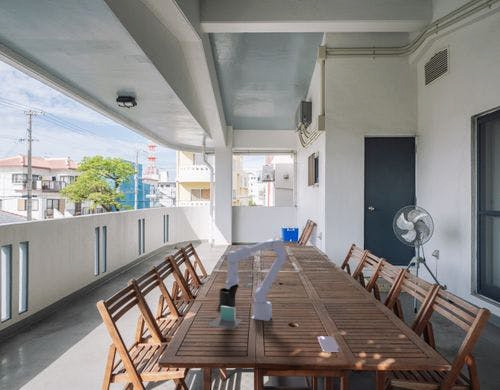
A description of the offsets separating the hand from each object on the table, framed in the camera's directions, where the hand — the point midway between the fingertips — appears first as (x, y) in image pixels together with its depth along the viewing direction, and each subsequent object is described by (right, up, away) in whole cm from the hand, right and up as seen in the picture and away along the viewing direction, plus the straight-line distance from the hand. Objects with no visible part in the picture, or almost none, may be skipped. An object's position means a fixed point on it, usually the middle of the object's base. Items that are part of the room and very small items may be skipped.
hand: (232, 298), depth 179 cm
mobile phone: (+45, -11, -31) cm, 56 cm away
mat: (-3, -10, -8) cm, 13 cm away
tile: (-2, -10, -6) cm, 11 cm away
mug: (-4, -10, +17) cm, 20 cm away
